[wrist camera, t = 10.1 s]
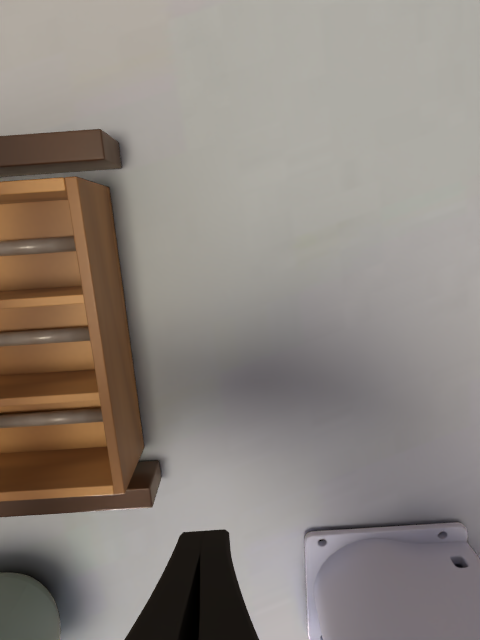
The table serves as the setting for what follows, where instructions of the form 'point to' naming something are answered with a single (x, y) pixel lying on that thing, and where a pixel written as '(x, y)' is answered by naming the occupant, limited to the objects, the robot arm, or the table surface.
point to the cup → (27, 609)
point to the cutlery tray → (63, 345)
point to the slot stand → (58, 157)
